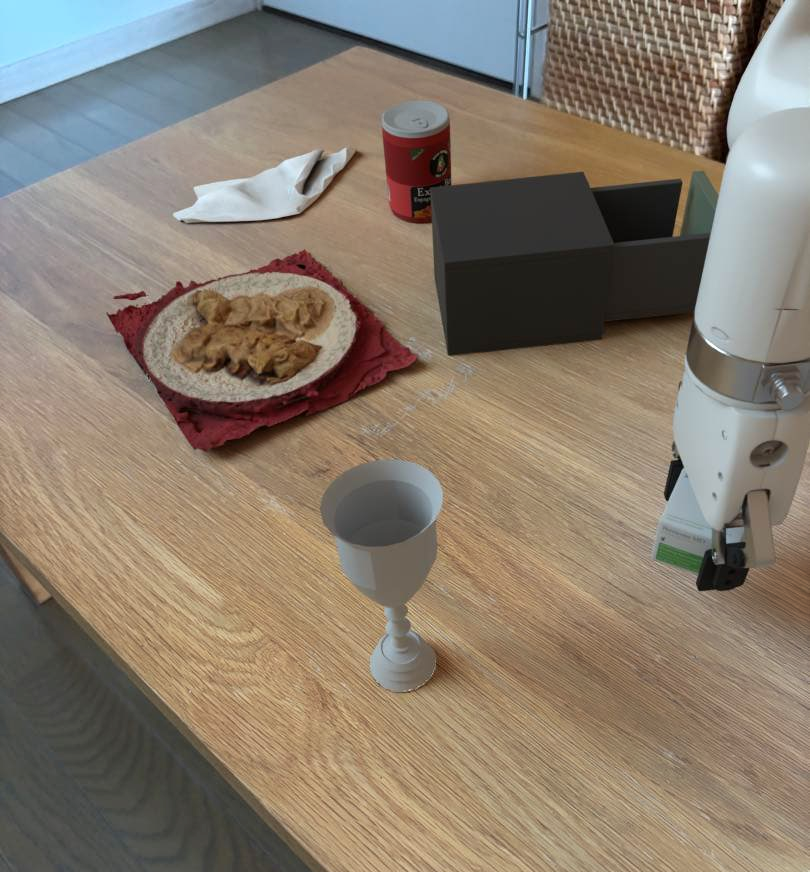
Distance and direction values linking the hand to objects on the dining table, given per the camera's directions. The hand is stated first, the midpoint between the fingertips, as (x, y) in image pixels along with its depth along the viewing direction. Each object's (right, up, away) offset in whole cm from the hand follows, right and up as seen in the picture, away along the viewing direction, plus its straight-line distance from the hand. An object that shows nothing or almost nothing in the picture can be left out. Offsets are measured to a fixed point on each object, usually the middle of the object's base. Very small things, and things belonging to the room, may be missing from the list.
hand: (701, 538), depth 63 cm
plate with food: (-37, +20, +27) cm, 50 cm away
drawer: (+5, +27, +28) cm, 39 cm away
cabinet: (-10, +24, +28) cm, 39 cm away
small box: (0, -1, +1) cm, 1 cm away
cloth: (-38, +44, +47) cm, 75 cm away
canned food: (-20, +40, +43) cm, 62 cm away
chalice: (-22, -9, +2) cm, 24 cm away
